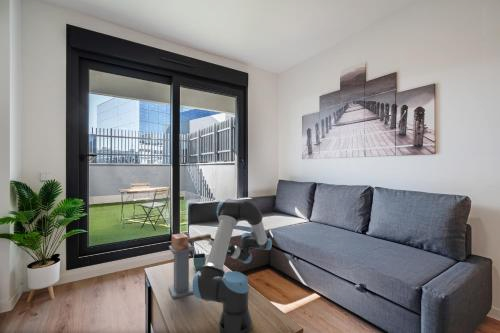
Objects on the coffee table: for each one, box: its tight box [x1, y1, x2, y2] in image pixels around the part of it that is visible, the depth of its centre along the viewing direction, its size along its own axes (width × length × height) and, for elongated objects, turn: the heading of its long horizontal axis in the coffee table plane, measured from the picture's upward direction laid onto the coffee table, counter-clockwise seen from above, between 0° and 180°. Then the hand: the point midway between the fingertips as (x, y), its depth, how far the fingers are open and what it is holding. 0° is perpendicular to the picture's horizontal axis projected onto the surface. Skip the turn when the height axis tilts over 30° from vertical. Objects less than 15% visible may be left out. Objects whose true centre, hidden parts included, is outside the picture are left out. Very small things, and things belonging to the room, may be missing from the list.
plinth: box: [168, 242, 195, 300], centre depth 136 cm, size 12×12×26 cm
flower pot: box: [192, 252, 207, 271], centre depth 167 cm, size 9×9×9 cm
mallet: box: [171, 232, 212, 251], centre depth 140 cm, size 23×9×7 cm, turn 125°
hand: (205, 238), depth 144 cm, fingers open, 13 cm apart
